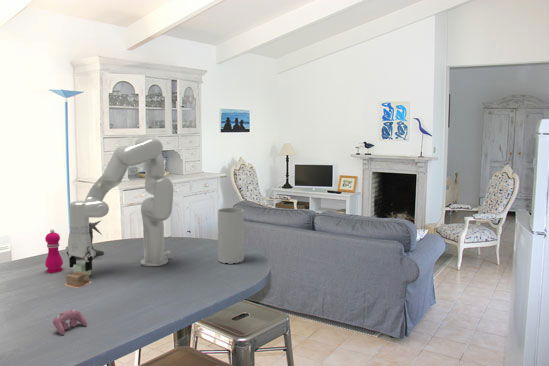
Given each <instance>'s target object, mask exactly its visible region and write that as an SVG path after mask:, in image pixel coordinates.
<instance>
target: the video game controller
mask: <svg viewBox="0 0 549 366" xmlns="http://www.w3.org/2000/svg"><path fill="white" fill-rule="evenodd" d="M52 320H53V321H52V324H53V326H54V328H55V329H56V330H57V332H58V333H59V334H60V335H62V336H64V335H65V331H66V330H68V329H69V326H70V327H71V328H74V327H76V326H77V324H78V322H79V323H80V324H81V325H82V326H84V327H86V326H87V325H88V322H87V320H86V318H85V317H84V315H83V314H82V312H81V311H80V310H78V309H69V310H66V311H63V312H62V313H61V312H60V313H59V314H57V316H55V317H54V318H53V319H52ZM66 321H69V322H66Z"/></svg>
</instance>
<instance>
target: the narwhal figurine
mask: <svg viewBox="0 0 549 366" xmlns="http://www.w3.org/2000/svg"><path fill="white" fill-rule="evenodd" d="M100 222H102V219H101V220H98V221H95V222H90V221H89V233H90V237H91V245H92V249H93V250H94V251H95V252H96V254H95V257H100V256H104V255H105V251H103V250H99V249H95V248H94V247H93V238H94V235H93V233H94V231H95V232H97V233H98V234H100V235H101V236H103V234H102V233H101V231H100V230H99V229H98V228H97V227H96V226H97V225H99V223H100ZM93 230H94V231H93ZM88 258H89V257H88ZM80 259H81V260H83V259H85V258H84V257H83V258H81V257H80Z"/></svg>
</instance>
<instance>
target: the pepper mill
mask: <svg viewBox="0 0 549 366" xmlns="http://www.w3.org/2000/svg"><path fill="white" fill-rule="evenodd" d="M44 240H45V242H46V243H47V244H46V247H47V252H48V254H47V256H46V259H45V263H44V266H45V267H46V268H47V269H46V273H48V274H56V273H59V272H62V271H63V268H62V266H63V265H64V261H63V258H62V256H61V254H60V252H59V251H60V250H59V247H60V240H61V236H60V234H59V233H57V232H55V229H50V231H49V233H47V234H46V235H45V238H44Z"/></svg>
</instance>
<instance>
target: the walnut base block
mask: <svg viewBox="0 0 549 366" xmlns="http://www.w3.org/2000/svg"><path fill="white" fill-rule="evenodd" d="M89 276H90V275H89V273H85V272H80V271H77V272H74V271H73V272H72V273H69V274H66V284H67V285H71V286H75V287H78V286H81V285H84V284H86V283H89V282H90V277H89ZM84 286H85V285H84Z"/></svg>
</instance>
